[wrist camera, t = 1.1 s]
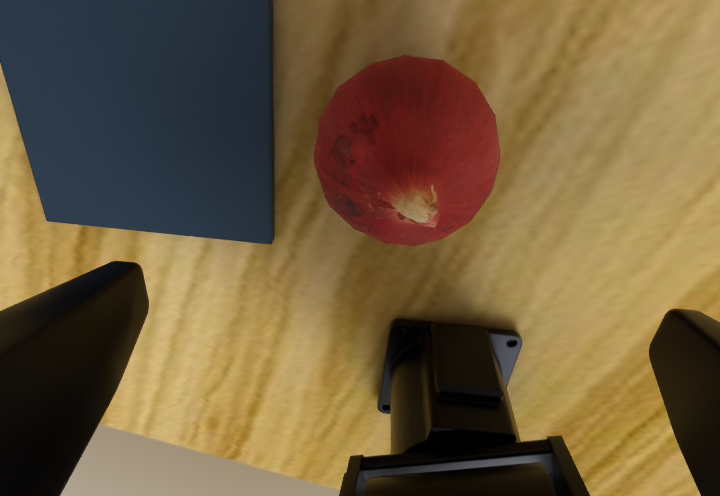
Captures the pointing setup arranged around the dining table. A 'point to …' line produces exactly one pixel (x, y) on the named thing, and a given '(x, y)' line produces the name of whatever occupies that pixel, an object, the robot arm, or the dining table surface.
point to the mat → (147, 112)
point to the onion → (407, 150)
